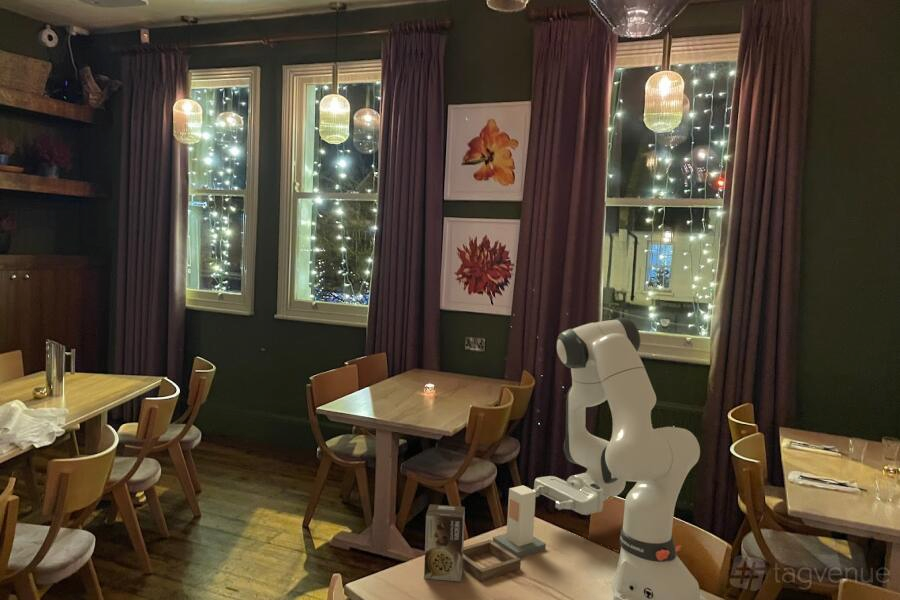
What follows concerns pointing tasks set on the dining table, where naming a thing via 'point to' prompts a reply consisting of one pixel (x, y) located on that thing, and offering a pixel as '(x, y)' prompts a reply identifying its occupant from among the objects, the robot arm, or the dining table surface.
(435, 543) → the coffee box
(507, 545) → the blue-grey square slab
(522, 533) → the off-white box
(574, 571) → the dining table surface
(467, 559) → the walnut crate
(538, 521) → the dining table surface
